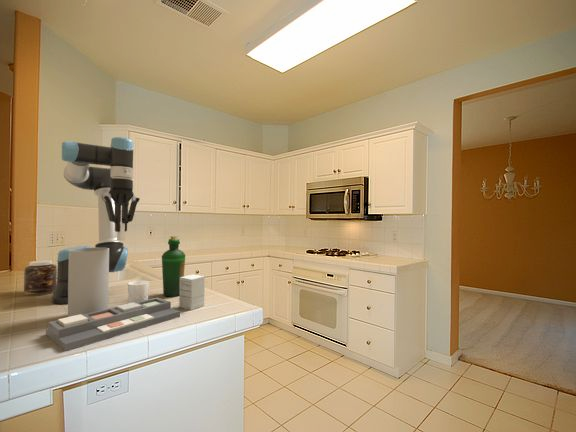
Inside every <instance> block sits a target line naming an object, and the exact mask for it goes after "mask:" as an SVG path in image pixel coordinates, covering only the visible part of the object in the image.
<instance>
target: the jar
mask: <svg viewBox="0 0 576 432" xmlns="http://www.w3.org/2000/svg"><path fill="white" fill-rule="evenodd" d="M28 263H29V264H28V265H27V266H25V267H24V270H23V271H24V272H23V274H24V275H23V295H24V296H27V297H35V296H37V297H38V296H46V295H49V294H53V293H54V290H55V288H56V285H57V270H58V266H57V265H56V264H54V263H53V260H50V259H49V260H47V259H44V260H43V259H42V260H35V261H34V260H33V261H29V262H28Z"/></svg>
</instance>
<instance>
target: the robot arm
mask: <svg viewBox="0 0 576 432" xmlns="http://www.w3.org/2000/svg"><path fill="white" fill-rule="evenodd" d="M134 151H135V148H134V141H133V140H132V139H129V138H126V137H122V136H118V137H117V136H114V137H112V138H111V141H110V146H105V145H103V146H102V145H97V144H89V143H83V142H76V141H68V140H66V141H63V142H62V143H61V160H62V161H64V162H66V166H64V167H65V168H64V170H63V177H64V179H65V180H66V181H67V182H68V183H69V184H70V185H72V186H74V187H76V188H78V189H82V190H86V191H87V190H89V191H93V193H94V195H95V196H97V208H98V209H97V211H98V213H97V214H98V215H97V217H98V218H97V219H98V242H97V243H95V245H94V248H109V273H115V272H122V271H124V269H126V265H127V260H128V247H127V246H124V243H123V241H125V239H126V238H125V237H126V236H125V235H126V233H125V232H127V231H128V224H129V223H130V222H133V221H134V220H133V219H134V216H135V212H136V209H137V205H138V203H139V202H140V197H137V196H136V195H134V191H133V189H134V181H133V179H134ZM90 165H97V166H90ZM99 166H106V167H99ZM107 166H109V167H110V168H108V167H107ZM130 201H131V203H130ZM129 205H130V206H129ZM79 248H92V247H91V246H90V245H79V246H72V247H68V248H67V247H66V248H63V249H61V250H59V251H58V253H57V260H56V262H57V285H56V288H55V290H54V293H52V296H51V303H52V304H58V305H65V304H66V305H68V267H69V250H71V249H79Z"/></svg>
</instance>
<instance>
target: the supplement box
mask: <svg viewBox="0 0 576 432" xmlns="http://www.w3.org/2000/svg"><path fill="white" fill-rule="evenodd" d="M178 304H179V308H180V309H181V308H182V309H184V310H190V311H192V310H195V309H198V308H201V307H204V306H205V276H204V275H198V274H189V275H184V277H180V295H179V303H178Z"/></svg>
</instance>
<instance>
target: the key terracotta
mask: <svg viewBox="0 0 576 432" xmlns="http://www.w3.org/2000/svg"><path fill="white" fill-rule="evenodd" d="M111 315H113V314H111V313H109V312H108V313H103V314H99V315H95V316H91V317H92V318H94V319H99V318H103V317H107V316H111Z"/></svg>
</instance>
